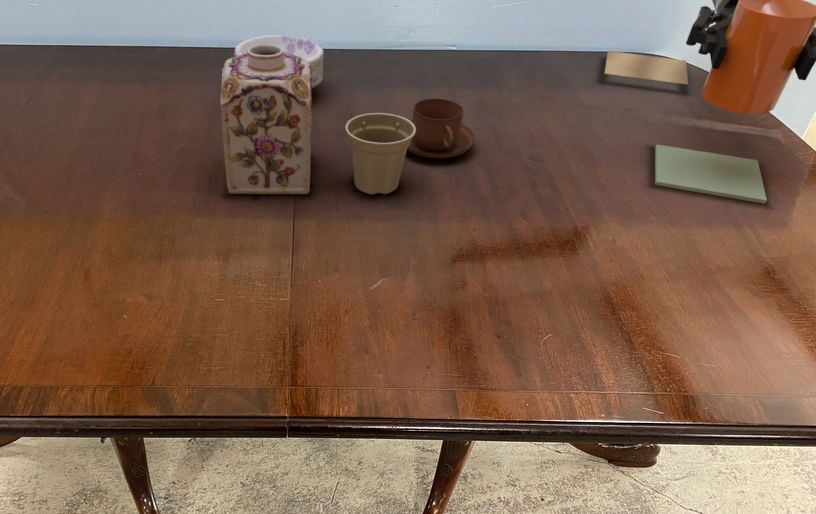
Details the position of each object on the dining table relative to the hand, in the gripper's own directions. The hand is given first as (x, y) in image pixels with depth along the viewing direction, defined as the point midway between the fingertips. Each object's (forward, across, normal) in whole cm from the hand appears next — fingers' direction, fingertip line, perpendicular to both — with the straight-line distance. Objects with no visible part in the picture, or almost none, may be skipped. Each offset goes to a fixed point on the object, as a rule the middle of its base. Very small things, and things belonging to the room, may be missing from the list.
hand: (763, 63), depth 83 cm
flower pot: (+16, +44, -18) cm, 50 cm away
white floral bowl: (-8, +69, -18) cm, 71 cm away
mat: (-4, 0, -17) cm, 18 cm away
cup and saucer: (+2, +39, -18) cm, 43 cm away
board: (-40, +9, -18) cm, 44 cm away
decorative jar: (+19, +59, -18) cm, 64 cm away
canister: (-5, 0, -6) cm, 8 cm away
